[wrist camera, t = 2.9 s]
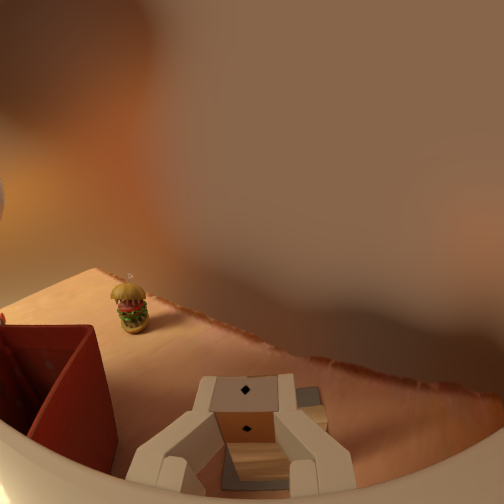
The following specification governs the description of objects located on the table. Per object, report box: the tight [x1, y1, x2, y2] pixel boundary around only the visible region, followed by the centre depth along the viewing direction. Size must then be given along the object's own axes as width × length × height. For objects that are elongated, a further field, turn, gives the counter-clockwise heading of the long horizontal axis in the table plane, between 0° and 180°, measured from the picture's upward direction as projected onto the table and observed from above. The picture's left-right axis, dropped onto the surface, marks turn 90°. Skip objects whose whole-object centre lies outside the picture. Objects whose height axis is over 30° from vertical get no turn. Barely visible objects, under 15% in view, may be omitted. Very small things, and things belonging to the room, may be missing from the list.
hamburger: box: [111, 273, 149, 333], centre depth 52 cm, size 8×7×12 cm
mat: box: [221, 387, 321, 491], centre depth 27 cm, size 16×12×1 cm
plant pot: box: [0, 325, 118, 475], centre depth 17 cm, size 19×19×17 cm
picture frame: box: [227, 405, 328, 481], centre depth 20 cm, size 2×8×12 cm, turn 87°
